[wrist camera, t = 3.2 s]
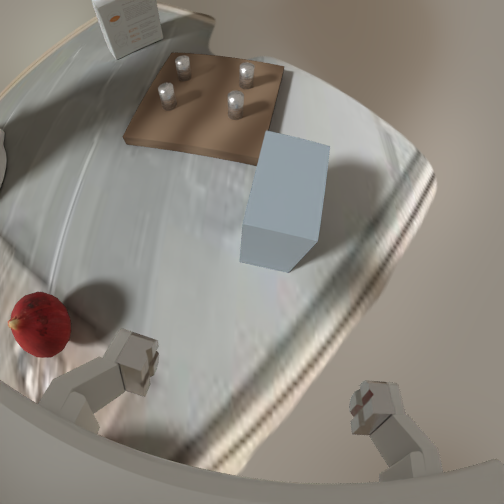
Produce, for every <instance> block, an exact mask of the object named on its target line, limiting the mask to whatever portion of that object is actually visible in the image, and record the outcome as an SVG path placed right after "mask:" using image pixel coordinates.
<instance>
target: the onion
mask: <svg viewBox="0 0 504 504" xmlns="http://www.w3.org/2000/svg"><path fill="white" fill-rule="evenodd" d="M8 326H9V328H11V330H12V333H13V335H14V337H15V339H16V341H17V342H18V344H19V345H20V346H21V347H22V349H23V350H25V351H26V352H28V353H30V354H32V355H34V356H36V357H41V358H43V357H53V356H54V355H56V354H58V353H59V352H61V351H62V350H63V349H64V347H65V346H66V344H67V342H68V341H69V338H70V333H71V320H70V318H69V315H68V312H67V310H66V308H65V306H64V305H63V304H62V303H61V302H60V301H59V299H58V298H56V297H54V296H53V295H50V294H47V293H44V292H36V293H32V294H29V295H25V296H24V297H23V298H21V299H20V300H19V301H18V302H17V303H16V305H15V307H14V309H13V311H12V314H11V319H10V320H9V321H8Z"/></svg>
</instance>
